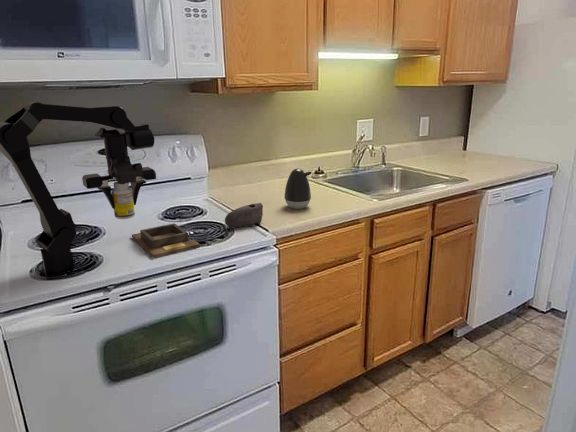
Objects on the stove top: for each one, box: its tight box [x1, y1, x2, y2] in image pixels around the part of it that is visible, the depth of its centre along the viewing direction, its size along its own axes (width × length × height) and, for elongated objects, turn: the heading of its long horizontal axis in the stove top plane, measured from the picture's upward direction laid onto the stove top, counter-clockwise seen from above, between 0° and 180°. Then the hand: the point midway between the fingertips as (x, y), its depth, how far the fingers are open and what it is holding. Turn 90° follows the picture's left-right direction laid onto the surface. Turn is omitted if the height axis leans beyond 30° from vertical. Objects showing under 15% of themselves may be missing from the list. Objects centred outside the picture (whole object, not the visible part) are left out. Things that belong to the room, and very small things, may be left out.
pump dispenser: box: [284, 168, 312, 210], centre depth 164 cm, size 10×10×15 cm
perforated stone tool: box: [224, 202, 264, 228], centre depth 146 cm, size 15×5×7 cm, turn 122°
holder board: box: [131, 223, 201, 259], centre depth 132 cm, size 14×20×4 cm
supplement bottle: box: [111, 181, 136, 220], centre depth 123 cm, size 6×6×10 cm
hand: (124, 206), depth 123 cm, fingers closed on supplement bottle, 5 cm apart
